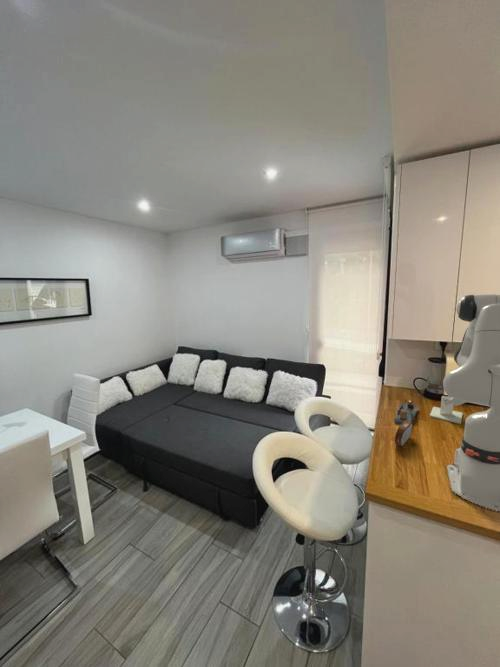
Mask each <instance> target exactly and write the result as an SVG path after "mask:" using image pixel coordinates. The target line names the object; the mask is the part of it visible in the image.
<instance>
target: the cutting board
mask: <svg viewBox="0 0 500 667" xmlns="http://www.w3.org/2000/svg"><path fill="white" fill-rule="evenodd" d="M440 408H441V407H437V406H432V409H431V411H430V413H429V417H430V418H434V419H438V420H443V421H447V422H452V423H455V424H459V425H461V424H462V420H463V414H464V413H463V412H461V411H457V410H453V413H452V417H450V416H446V415H442V414H440Z"/></svg>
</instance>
